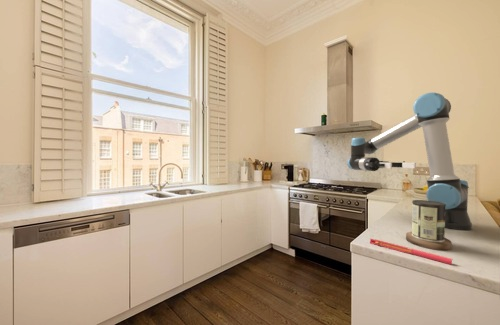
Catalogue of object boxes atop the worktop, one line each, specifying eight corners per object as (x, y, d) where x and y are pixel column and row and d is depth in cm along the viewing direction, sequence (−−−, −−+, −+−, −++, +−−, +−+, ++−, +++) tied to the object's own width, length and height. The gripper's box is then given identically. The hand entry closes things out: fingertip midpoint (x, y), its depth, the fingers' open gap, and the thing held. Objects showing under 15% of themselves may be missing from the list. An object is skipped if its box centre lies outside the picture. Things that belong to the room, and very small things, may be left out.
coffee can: (434, 234, 91) (435, 200, 91) (451, 243, 81) (452, 205, 81) (406, 232, 93) (407, 199, 93) (419, 241, 83) (420, 204, 83)
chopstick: (372, 243, 88) (368, 243, 85) (373, 238, 89) (369, 237, 86) (453, 265, 71) (452, 266, 68) (454, 259, 71) (452, 258, 68)
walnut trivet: (427, 235, 95) (427, 231, 95) (462, 249, 81) (462, 244, 81) (397, 236, 93) (397, 232, 93) (427, 250, 79) (428, 245, 79)
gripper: (388, 170, 127) (424, 173, 106) (350, 170, 122) (380, 173, 101) (388, 157, 127) (424, 157, 106) (350, 157, 121) (381, 157, 101)
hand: (403, 165), depth 103 cm, fingers open, 13 cm apart
